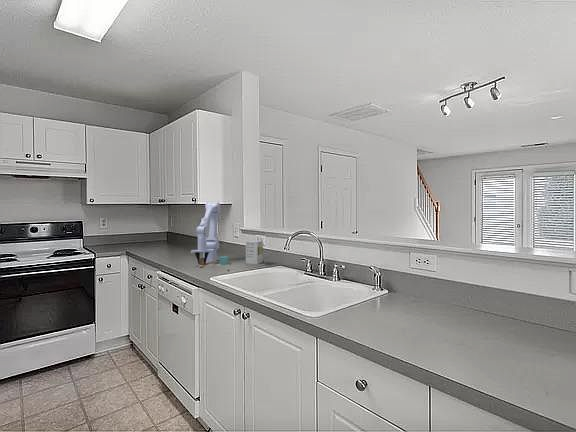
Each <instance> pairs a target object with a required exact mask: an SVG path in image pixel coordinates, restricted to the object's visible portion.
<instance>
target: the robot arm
mask: <svg viewBox="0 0 576 432" xmlns="http://www.w3.org/2000/svg"><path fill="white" fill-rule="evenodd" d="M204 208H205V214H204V217H202V218H201V221H200V223H199V225H198V226H197V227H196V230H195V233H196V237H197V249H191V250H190V254H195V257H196V259H197V264H198V265H199V259H200V258H201V254H202V256H203V257H202V258H205V261H204V264H206V263H208V262H211V263H213V262H217V258H218V257H217V253H218V252H217V251H218V250H219V248H220V240H219V238H217V236H216V235H217V226H218V218H219V215H220V214H221V208H222V206H221V203H220V202H206V203H205V205H204ZM207 234H208V237H207Z"/></svg>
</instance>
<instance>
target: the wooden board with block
mask: <svg viewBox="0 0 576 432" xmlns="http://www.w3.org/2000/svg"><path fill="white" fill-rule="evenodd" d="M204 261H205V258H203V257H200V259H199V264H198V267H199V268H204V267H206V266H221V265H220V262H219V263H218V262H217V263H216V262H214V263H213V262H211V263H208V262H207V263H206V264H204ZM230 264H231V263H230V262H228V264H227V265H226V266H230Z"/></svg>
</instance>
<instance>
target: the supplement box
mask: <svg viewBox="0 0 576 432" xmlns="http://www.w3.org/2000/svg"><path fill="white" fill-rule="evenodd" d="M263 249H264V240H246V241H245V264H250V265H259V264H262V263H263V261H264V258H263V257H264V256H263V255H264V253H263V252H264V251H263Z"/></svg>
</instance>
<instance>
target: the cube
mask: <svg viewBox="0 0 576 432" xmlns="http://www.w3.org/2000/svg"><path fill="white" fill-rule="evenodd" d="M228 257H229V256H227V255H226V256H225V255H224V256H221V255H220V256H219V263H220V265H219V266H228V265H227V264H228V263H229V262H228V261H229V260H228Z"/></svg>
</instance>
